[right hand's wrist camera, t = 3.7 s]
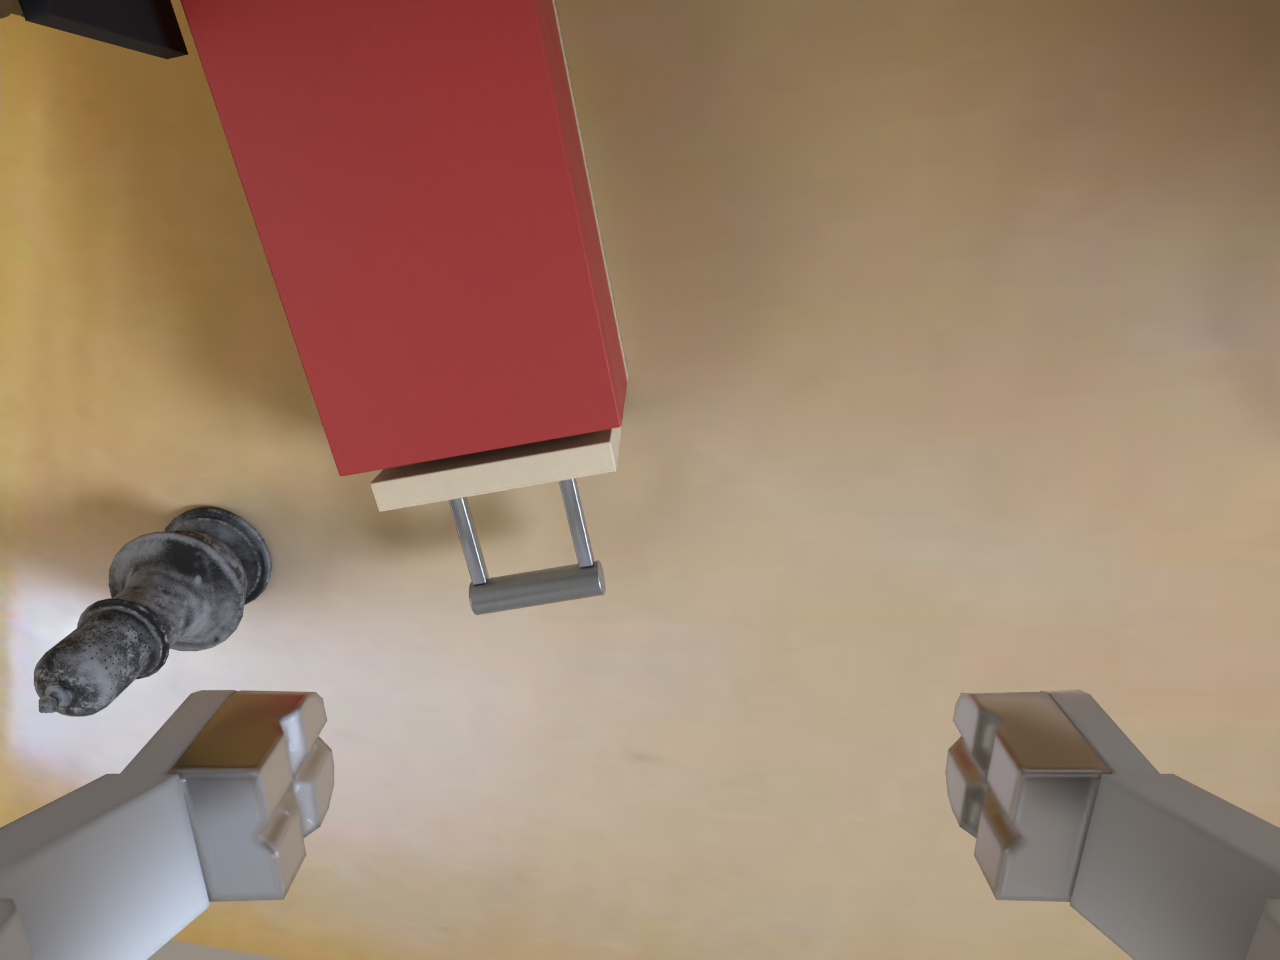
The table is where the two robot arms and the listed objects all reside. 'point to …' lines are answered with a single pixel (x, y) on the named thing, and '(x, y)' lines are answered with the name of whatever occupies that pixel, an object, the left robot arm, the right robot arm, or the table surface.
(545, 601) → the drawer
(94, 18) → the left robot arm
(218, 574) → the chess piece
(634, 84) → the table surface
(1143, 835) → the right robot arm
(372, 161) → the cabinet
